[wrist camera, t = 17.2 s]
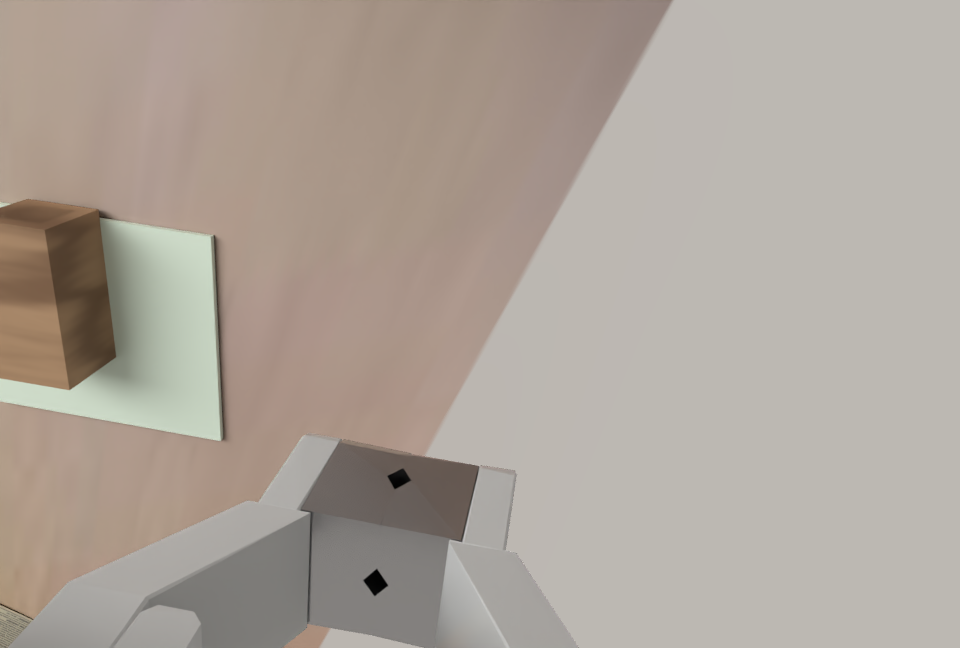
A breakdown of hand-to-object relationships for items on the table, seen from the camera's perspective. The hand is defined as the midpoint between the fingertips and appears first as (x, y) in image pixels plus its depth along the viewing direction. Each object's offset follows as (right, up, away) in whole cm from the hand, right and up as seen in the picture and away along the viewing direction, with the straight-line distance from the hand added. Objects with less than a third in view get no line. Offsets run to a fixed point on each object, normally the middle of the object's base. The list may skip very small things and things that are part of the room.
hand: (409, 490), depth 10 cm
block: (-27, +9, +34) cm, 44 cm away
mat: (-26, +2, +40) cm, 48 cm away
